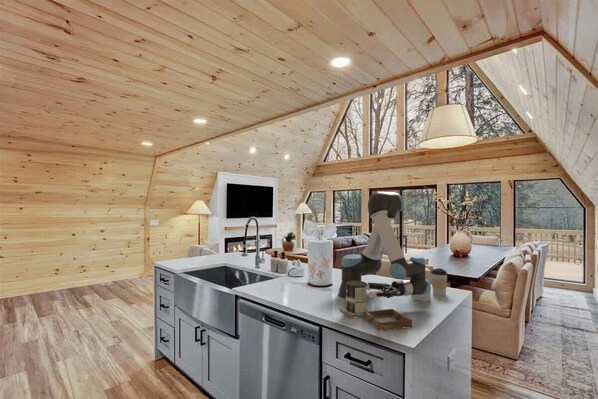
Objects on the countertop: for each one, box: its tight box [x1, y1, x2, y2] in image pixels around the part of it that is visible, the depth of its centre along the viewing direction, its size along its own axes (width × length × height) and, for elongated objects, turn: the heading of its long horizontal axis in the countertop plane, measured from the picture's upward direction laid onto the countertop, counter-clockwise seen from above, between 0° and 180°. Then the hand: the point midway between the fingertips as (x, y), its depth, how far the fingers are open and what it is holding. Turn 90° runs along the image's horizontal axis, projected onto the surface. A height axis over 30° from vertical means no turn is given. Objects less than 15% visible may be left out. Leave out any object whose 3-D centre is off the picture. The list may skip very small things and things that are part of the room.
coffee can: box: [345, 280, 368, 315], centre depth 150 cm, size 10×10×14 cm
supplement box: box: [410, 267, 432, 302], centre depth 175 cm, size 10×9×17 cm
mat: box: [338, 307, 369, 319], centre depth 150 cm, size 13×13×1 cm
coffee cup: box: [430, 267, 448, 297], centre depth 183 cm, size 9×9×15 cm
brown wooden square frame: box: [363, 308, 413, 331], centre depth 138 cm, size 15×15×3 cm
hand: (363, 290), depth 151 cm, fingers open, 13 cm apart
